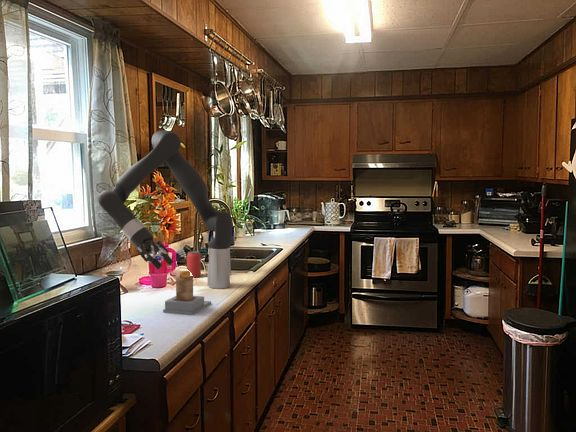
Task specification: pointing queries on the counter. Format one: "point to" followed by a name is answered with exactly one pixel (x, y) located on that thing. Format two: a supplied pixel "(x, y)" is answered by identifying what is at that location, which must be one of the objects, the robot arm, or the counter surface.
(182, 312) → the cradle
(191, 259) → the beer can
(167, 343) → the counter surface
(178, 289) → the brown bottle
